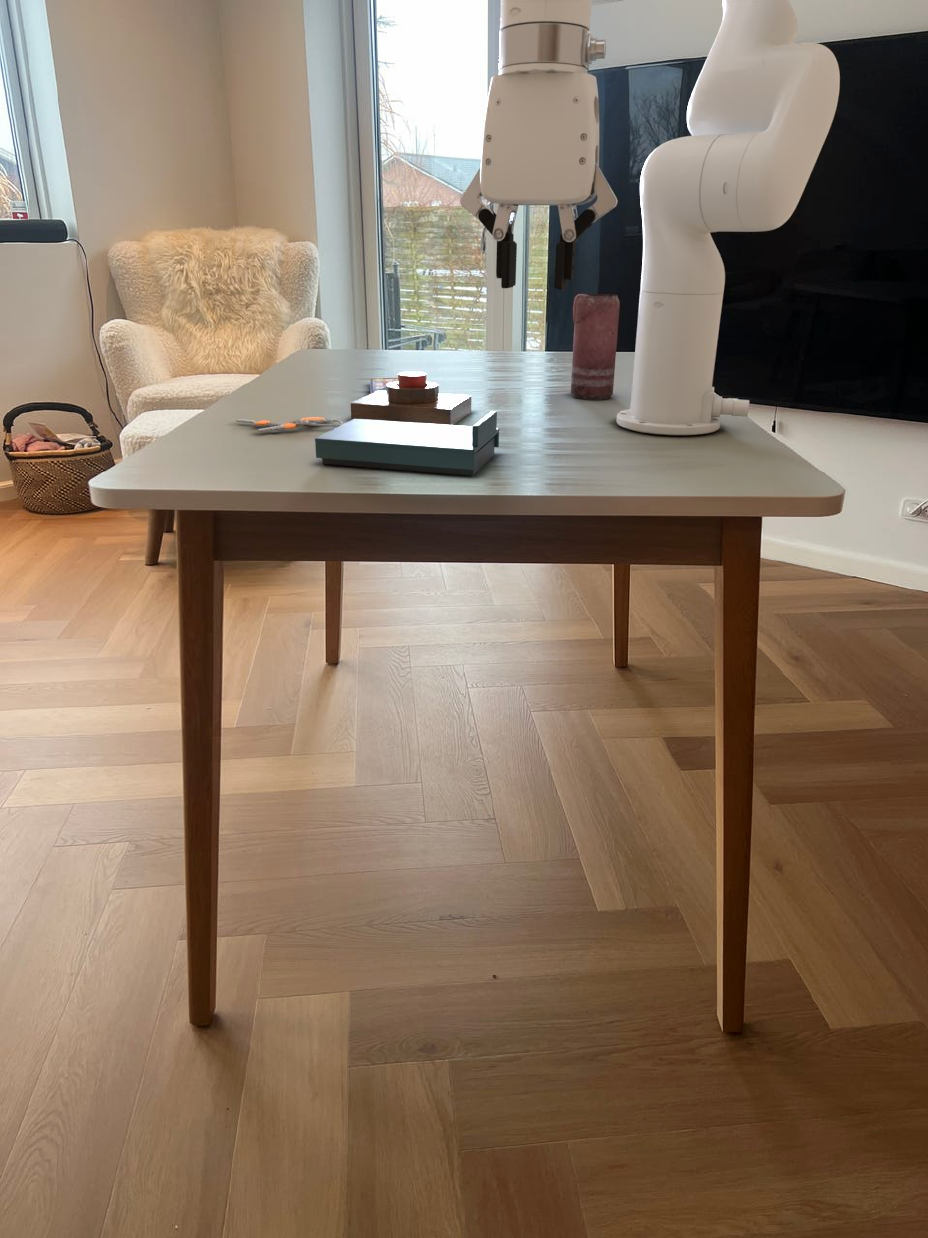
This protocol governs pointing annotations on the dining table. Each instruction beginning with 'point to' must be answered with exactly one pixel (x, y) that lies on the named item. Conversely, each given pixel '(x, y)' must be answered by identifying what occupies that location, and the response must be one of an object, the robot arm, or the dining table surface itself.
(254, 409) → the dining table surface
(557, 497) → the dining table surface
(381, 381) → the smartphone
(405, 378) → the timer button
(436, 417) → the block
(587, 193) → the robot arm
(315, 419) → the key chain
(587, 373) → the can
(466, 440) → the cover
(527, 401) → the dining table surface
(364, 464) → the calculator
